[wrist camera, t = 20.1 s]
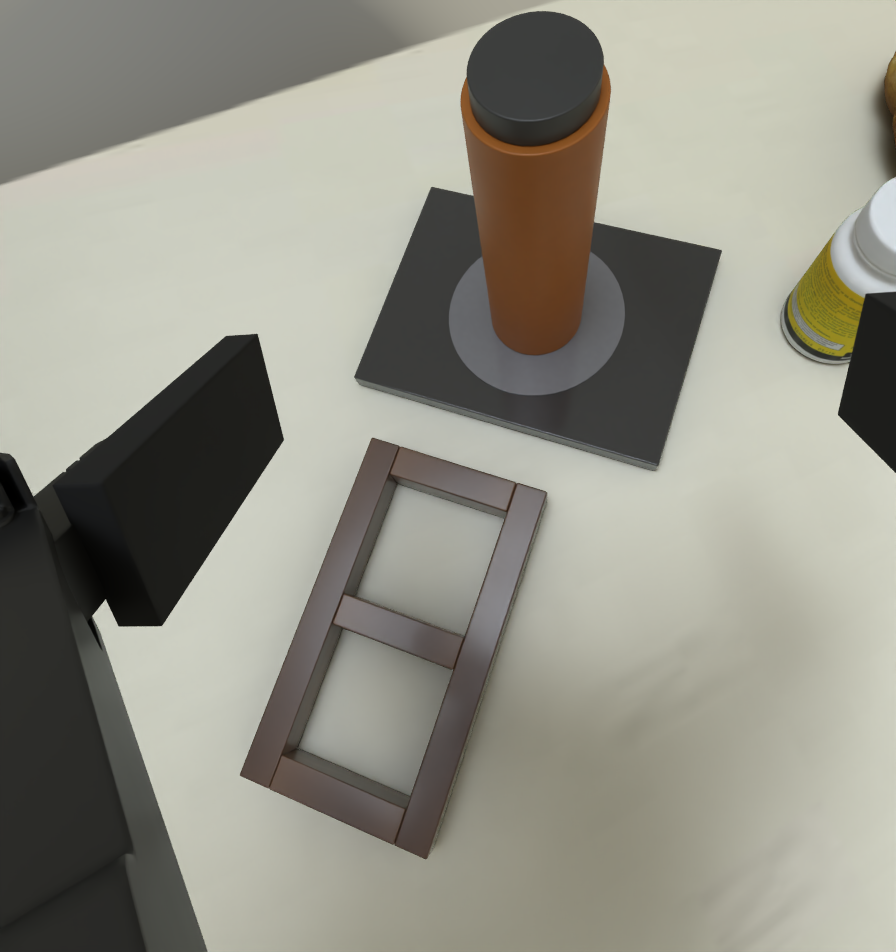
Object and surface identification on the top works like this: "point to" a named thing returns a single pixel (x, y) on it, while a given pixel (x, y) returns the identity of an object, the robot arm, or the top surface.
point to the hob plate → (553, 374)
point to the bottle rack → (339, 608)
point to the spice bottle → (536, 170)
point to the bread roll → (891, 91)
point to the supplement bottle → (844, 281)
